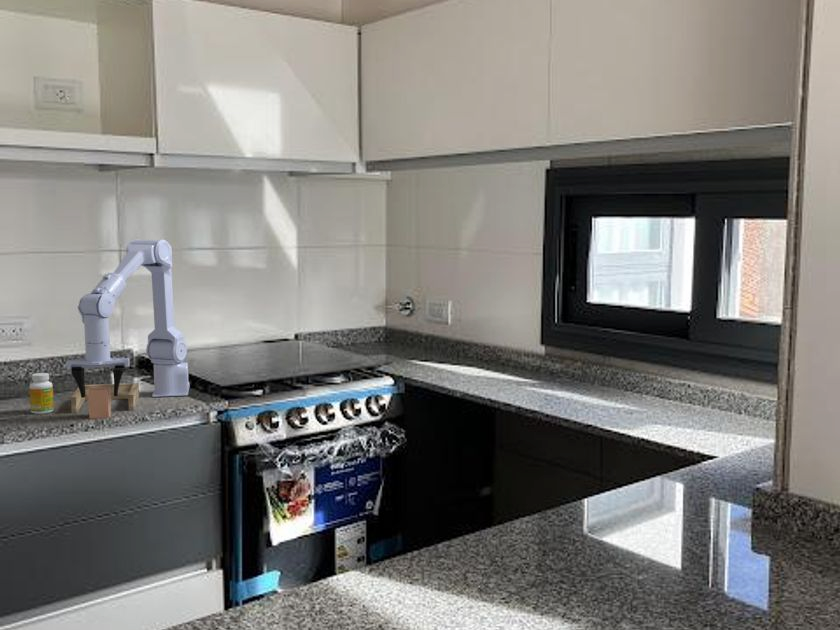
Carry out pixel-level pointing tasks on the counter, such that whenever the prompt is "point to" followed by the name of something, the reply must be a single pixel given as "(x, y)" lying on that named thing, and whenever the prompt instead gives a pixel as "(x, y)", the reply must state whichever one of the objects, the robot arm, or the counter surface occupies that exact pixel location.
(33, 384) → the supplement bottle
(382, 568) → the counter surface
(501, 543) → the counter surface
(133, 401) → the wooden u-shaped frame
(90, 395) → the block
